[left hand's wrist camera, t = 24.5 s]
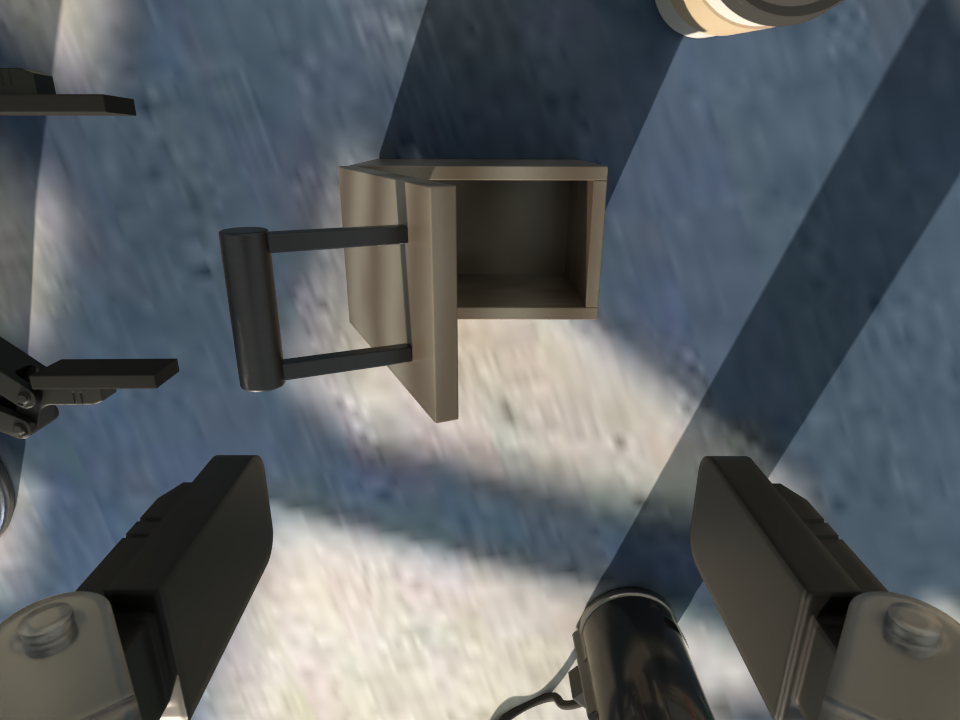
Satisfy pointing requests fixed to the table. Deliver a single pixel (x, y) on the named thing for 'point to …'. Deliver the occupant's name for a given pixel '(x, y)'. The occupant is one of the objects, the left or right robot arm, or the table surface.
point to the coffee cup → (737, 15)
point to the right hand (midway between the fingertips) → (146, 248)
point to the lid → (362, 288)
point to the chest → (522, 233)
